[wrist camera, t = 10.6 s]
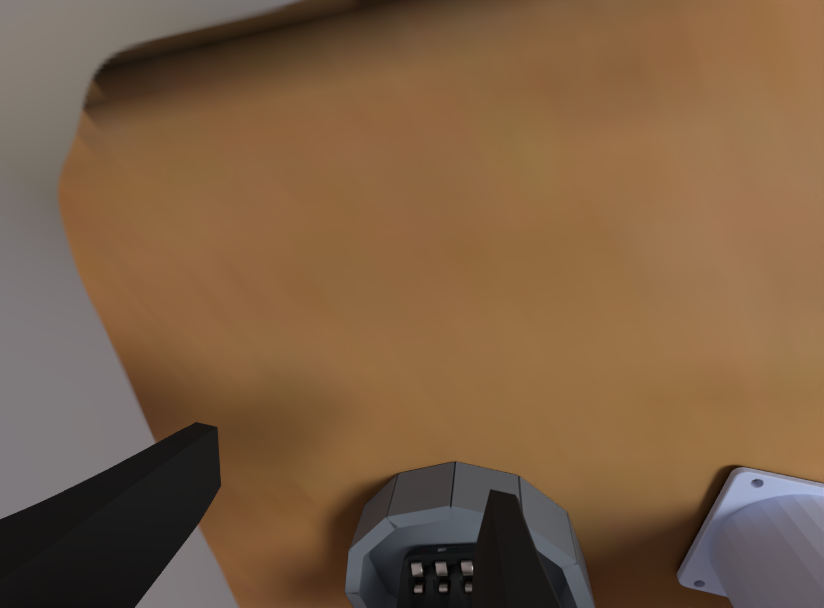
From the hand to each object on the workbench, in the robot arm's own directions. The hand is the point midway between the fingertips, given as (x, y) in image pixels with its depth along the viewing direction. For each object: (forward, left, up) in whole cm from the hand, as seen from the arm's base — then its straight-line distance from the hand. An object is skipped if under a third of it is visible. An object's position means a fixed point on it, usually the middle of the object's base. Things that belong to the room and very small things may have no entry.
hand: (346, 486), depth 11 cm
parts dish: (-5, +14, -10) cm, 18 cm away
